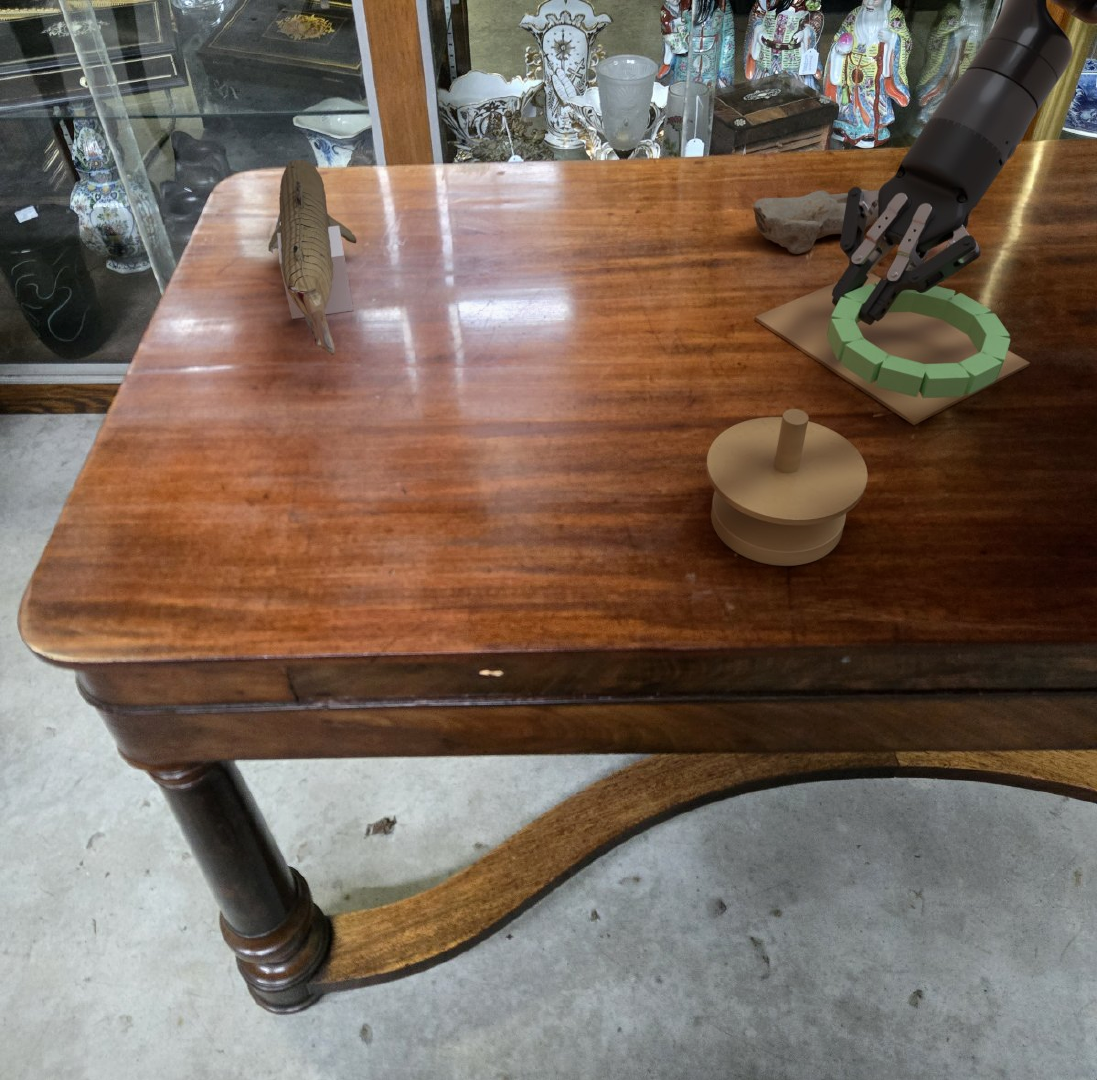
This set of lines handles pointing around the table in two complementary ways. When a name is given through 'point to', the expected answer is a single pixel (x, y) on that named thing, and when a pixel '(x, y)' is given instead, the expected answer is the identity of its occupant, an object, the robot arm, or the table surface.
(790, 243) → the sculpture
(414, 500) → the table surface
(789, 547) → the stand
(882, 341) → the mat
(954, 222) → the robot arm
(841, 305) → the ring
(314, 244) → the wood carving
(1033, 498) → the table surface
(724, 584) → the table surface
